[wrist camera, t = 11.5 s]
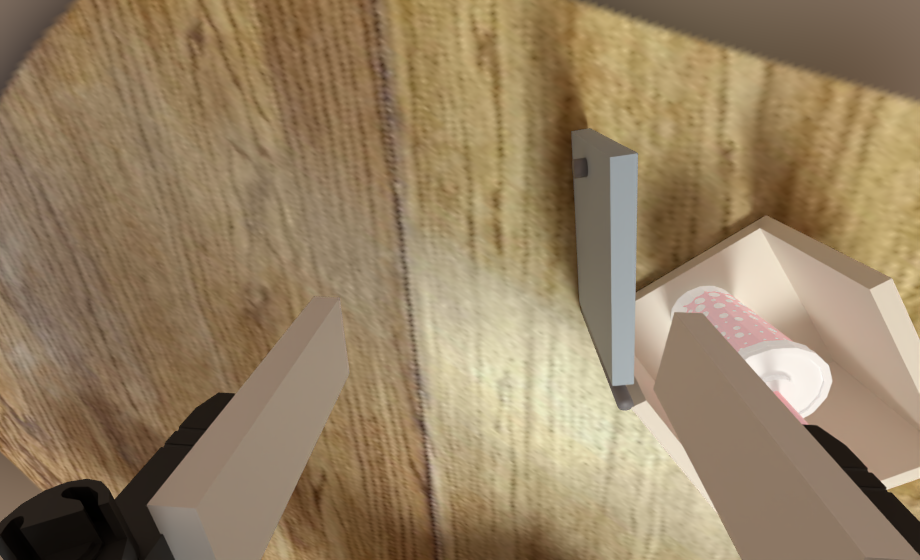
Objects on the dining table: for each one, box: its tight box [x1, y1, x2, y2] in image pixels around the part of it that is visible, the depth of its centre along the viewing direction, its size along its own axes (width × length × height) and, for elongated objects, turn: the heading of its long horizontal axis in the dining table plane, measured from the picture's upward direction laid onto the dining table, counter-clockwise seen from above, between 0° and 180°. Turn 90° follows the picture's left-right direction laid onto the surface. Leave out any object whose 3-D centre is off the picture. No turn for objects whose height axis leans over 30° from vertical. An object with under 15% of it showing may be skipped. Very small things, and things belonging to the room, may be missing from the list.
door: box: [571, 128, 638, 386], centre depth 26 cm, size 13×2×10 cm, turn 9°
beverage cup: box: [671, 286, 832, 425], centre depth 26 cm, size 6×6×14 cm
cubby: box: [581, 215, 920, 514], centre depth 29 cm, size 14×16×11 cm
